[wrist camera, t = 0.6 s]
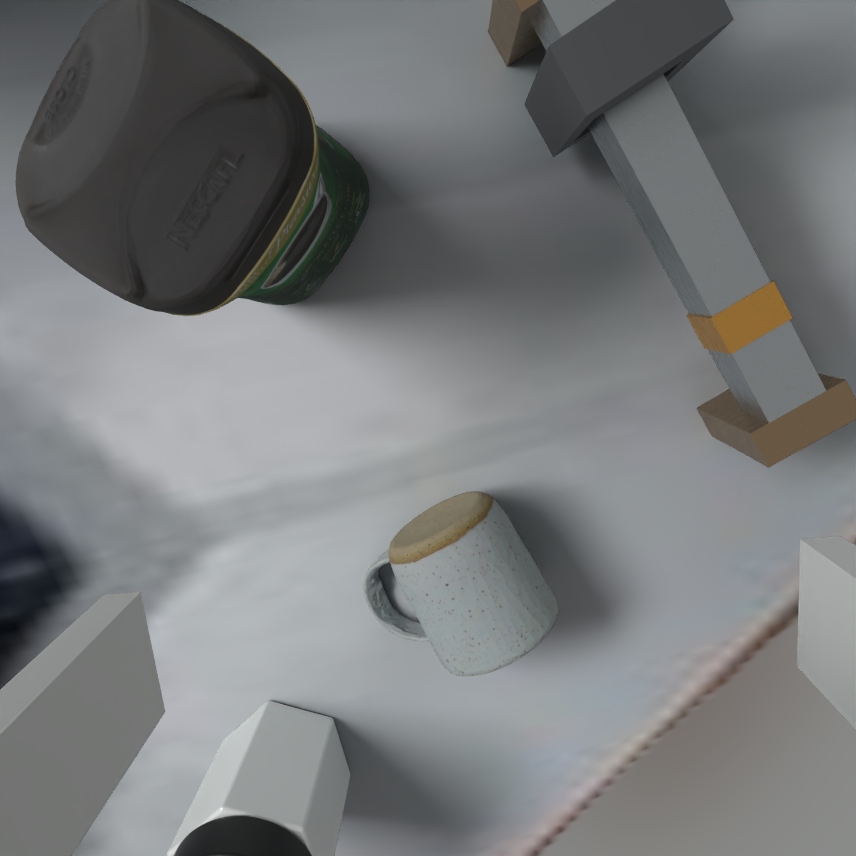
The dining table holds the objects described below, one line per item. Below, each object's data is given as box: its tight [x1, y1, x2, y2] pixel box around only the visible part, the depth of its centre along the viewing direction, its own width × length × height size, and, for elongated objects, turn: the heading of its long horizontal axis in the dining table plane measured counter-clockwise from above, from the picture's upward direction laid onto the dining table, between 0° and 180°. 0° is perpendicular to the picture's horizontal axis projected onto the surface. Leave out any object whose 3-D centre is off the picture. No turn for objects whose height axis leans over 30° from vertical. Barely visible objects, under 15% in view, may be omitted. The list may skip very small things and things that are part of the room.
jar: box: [167, 701, 350, 856], centre depth 39 cm, size 9×8×12 cm
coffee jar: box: [16, 0, 369, 316], centre depth 28 cm, size 10×8×19 cm
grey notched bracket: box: [524, 0, 733, 157], centre depth 29 cm, size 3×6×8 cm, turn 122°
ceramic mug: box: [364, 492, 558, 676], centre depth 38 cm, size 11×8×8 cm
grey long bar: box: [488, 0, 856, 467], centre depth 33 cm, size 26×5×7 cm, turn 32°
